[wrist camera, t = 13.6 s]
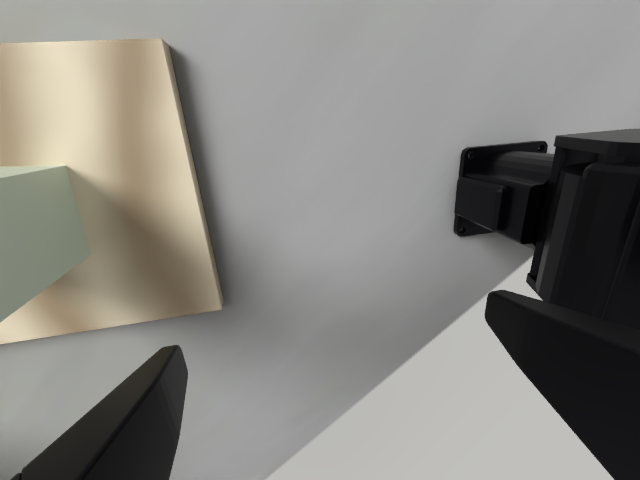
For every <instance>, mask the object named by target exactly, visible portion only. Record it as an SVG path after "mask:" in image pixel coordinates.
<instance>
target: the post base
mask: <svg viewBox="0 0 640 480" xmlns="http://www.w3.org/2000/svg"><path fill="white" fill-rule="evenodd" d="M53 165H66V168H67V171H68V175H69V178H70V182H71V185H72V189H73V192H74V195H75V199H76V202H77V206H78V209H79V213H80V216H81V220H82V223H83V226H84V230H85V233H86V237H87V240H88V244H89V247H90V251H91V255H90V256H89V257H87V258H86V259H85V260H83V261H82V262H81V263H79V264H78V265H77V266H75V267H74V268H73V269H71V270H70V271H69V272H67V273H66V274H65V275H63V276H62V277H61V278H59V279H58V280H57V281H55V282H54V283H53V284H51V285H50V286H49V287H47V288H46V289H45V290H43V291H42V292H41V293H39V294H38V295H37V296H35V297H34V298H32V299H31V300H30V301H28V302H27V303H26V304H24V305H23V306H22V307H20V308H19V309H18V310H16V311H15V312H14V313H12V314H11V315H10V316H8V317H7V318H6V319H4V320H3V321H2V322H0V344H5V343H12V342H18V341H25V340H31V339H37V338H44V337H50V336H57V335H63V334H70V333H76V332H82V331H89V330H95V329H102V328H108V327H115V326H121V325H127V324H134V323H140V322H147V321H153V320H160V319H166V318H172V317H179V316H185V315H192V314H198V313H205V312H211V311H217V310H222V305H223V301H224V300H223V296H222V291H221V287H220V282H219V277H218V273H217V268H216V263H215V259H214V254H213V249H212V245H211V240H210V236H209V231H208V226H207V222H206V217H205V212H204V208H203V203H202V198H201V194H200V189H199V185H198V180H197V175H196V171H195V166H194V161H193V157H192V152H191V147H190V143H189V138H188V134H187V129H186V124H185V120H184V115H183V110H182V106H181V101H180V97H179V92H178V87H177V83H176V78H175V73H174V69H173V64H172V59H171V55H170V50H169V46H168V44H167V43H166V42H165V41H164V40H163V39H161V38H159V39H128V40H96V41H65V42H34V43H2V44H0V166H53Z"/></svg>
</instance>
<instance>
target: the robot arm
mask: <svg viewBox="0 0 640 480" xmlns="http://www.w3.org/2000/svg"><path fill="white" fill-rule="evenodd" d="M539 146H540V148H539ZM547 146H548V145H547V143H546V142H545V141H531V142H520V143H509V144H498V145H488V146H477V147H468V148H465V149H464V150H463V151H462V153H461V160H460V170H459V179H458V182H457V192H456V203H455V221H454V233H455V234H457V235H458V236H462V237H463V236H470V235H477V234H484V233H492V232H496V233H498V234H501V235H503V236H505V237H507V238H509V239H512V240H514V241H516V242H518V243H520V244H523V245H525V246H528V247H530V248H532V249H534V250H535V251H534V255H533V260H532V265H531V270H530V273H528V275H527V280H526V282H527V283H528V284H529V285H530V287H531V288H532V289H533V290H534V291H535V292H536V293H537V294H538V295H539V296H540V298H541V299H542V300H543V301H541V300H537V299H533V298H530V297H527V296H523V295H520V294H516V293H513V292H509V291H506V290H498V291H492V292H490V293H489V294H488V297H487V303H486V309H485V319H486V322H487V323H488V325H489V326H490V328H491V329H492V330H493V332H494V333H495V335H496V336H497V338H498V339H499V340H500V342H501V343H502V344H503V346H504V347H505V349H506V350H507V352H508V353H509V354H510V356H511V357H512V359H513V360H514V361H515V363H516V364H517V365H518V367H519V368H520V369H521V370H522V372H523V373H524V374H525V375H526V376H527V378H528V379H529V380H530V381H531V382H532V383H533V384H534V386H535V387H536V388H537V389H538V390H539V392H540V393H541V394H542V395H543V396H544V397H545V399H546V400H547V401H548V402H549V403H550V404H551V406H552V407H553V408H554V409H555V410H556V412H557V413H558V414H559V415H560V416H561V417H562V419H563V420H564V421H565V422H566V423H567V424H568V426H569V427H570V428H571V429H572V430H573V431H574V433H575V434H576V435H577V436H578V437H579V439H580V440H581V441H582V442H583V443H584V444H585V446H586V447H587V448H588V449H589V450H590V451H591V453H592V454H593V455H594V456H595V457H596V459H597V460H598V461H599V462H600V463H601V464H602V466H603V467H604V468H605V469H606V470H607V471H608V472H609V474H610V475H611V476H612V477H613V478H614V480H640V129H624V130H613V131H602V132H591V133H580V134H568V135H557V136H556V138H555V143H554V146H555V147H556V149H555V154H547ZM538 148H539V150H538ZM469 152H471V155H470V157H469V158H468V153H469ZM462 227H463V229H462V231H460V229H461V228H462ZM187 379H188V371H187V366H186V363H185V360H184V356H183V353H182V350H181V348H180V346H178V345H173V346H167V347H163V348H161V349H160V350H159V351H157V352H156V353H155V354H154V355H153V356H152V357H151V358H149V359H148V360H147V361H146V362H145V363H144V364H143V365H141V366H140V367H139V368H138V369H137V370H136V371H135V372H133V373H132V374H131V375H130V376H129V377H128V378H127V379H125V380H124V381H123V382H122V383H121V384H120V385H119V386H117V387H116V388H115V389H114V390H113V391H112V392H110V393H109V394H108V395H107V396H106V397H105V398H104V399H102V400H101V401H100V402H99V403H98V404H97V405H96V406H94V407H93V408H92V409H91V410H90V411H89V412H88V413H86V414H85V415H84V416H83V417H82V418H81V419H80V420H78V421H77V422H76V423H75V424H74V425H73V426H72V427H70V428H69V429H68V430H67V431H66V432H65V433H63V434H62V435H61V436H60V437H59V438H58V439H57V440H55V441H54V442H53V443H52V444H51V445H50V446H49V447H47V448H46V449H45V450H44V451H43V452H42V453H41V454H39V455H38V456H37V457H36V458H35V459H34V460H32V461H31V462H30V463H29V464H28V465H27V466H26V467H24V468H23V469H22V472H21V473H18V474H16V475H15V476H14V477H13V478H12V479H11V480H169V477H170V473H171V469H172V465H173V461H174V457H175V453H176V449H177V445H178V440H179V436H180V429H181V423H182V415H183V408H184V401H185V394H186V386H187Z"/></svg>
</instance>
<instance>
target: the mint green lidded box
mask: <svg viewBox="0 0 640 480" xmlns="http://www.w3.org/2000/svg"><path fill="white" fill-rule="evenodd" d="M90 255H91V251H90V247H89V244H88V240H87V237H86V233H85V230H84V226H83V223H82V220H81V216H80V213H79V209H78V206H77V202H76V199H75V195H74V192H73V189H72V185H71V182H70V178H69V175H68V171H67V168H66V165H53V166H0V322H2V321H3V320H4V319H6V318H7V317H8V316H10V315H11V314H12V313H14V312H15V311H16V310H18V309H19V308H20V307H22V306H23V305H24V304H26V303H27V302H28V301H30V300H31V299H32V298H34V297H35V296H37V295H38V294H39V293H41V292H42V291H43V290H45V289H46V288H47V287H49V286H50V285H51V284H53V283H54V282H55V281H57V280H58V279H59V278H61V277H62V276H63V275H65V274H66V273H67V272H69V271H70V270H71V269H73V268H74V267H75V266H77V265H78V264H79V263H81V262H82V261H83V260H85V259H86V258H87V257H89V256H90Z"/></svg>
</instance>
